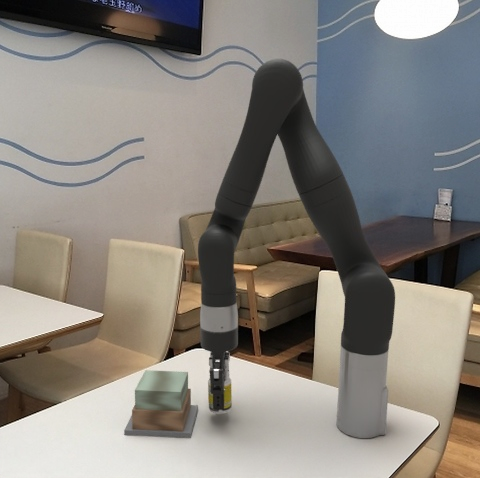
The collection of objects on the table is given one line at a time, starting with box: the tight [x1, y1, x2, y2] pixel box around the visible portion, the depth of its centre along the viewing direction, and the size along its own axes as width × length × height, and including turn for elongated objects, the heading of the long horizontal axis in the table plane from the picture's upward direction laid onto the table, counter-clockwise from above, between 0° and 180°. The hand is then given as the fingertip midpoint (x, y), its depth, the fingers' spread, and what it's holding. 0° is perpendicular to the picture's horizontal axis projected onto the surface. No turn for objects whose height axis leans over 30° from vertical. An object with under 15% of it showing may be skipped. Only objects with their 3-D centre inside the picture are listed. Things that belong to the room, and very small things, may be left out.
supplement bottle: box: [207, 368, 233, 414], centre depth 112 cm, size 5×5×8 cm
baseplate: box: [123, 404, 199, 439], centre depth 111 cm, size 13×11×1 cm
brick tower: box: [131, 369, 192, 431], centre depth 110 cm, size 10×10×8 cm
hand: (219, 402), depth 112 cm, fingers closed on supplement bottle, 4 cm apart
